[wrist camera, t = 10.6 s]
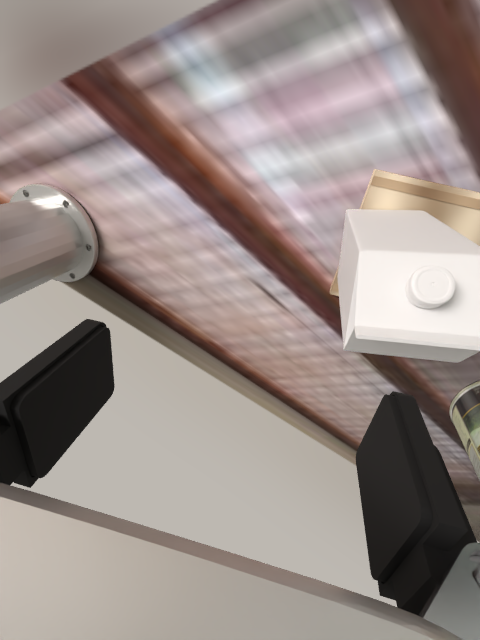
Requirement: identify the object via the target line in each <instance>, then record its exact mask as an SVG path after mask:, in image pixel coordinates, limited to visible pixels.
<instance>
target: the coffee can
mask: <svg viewBox="0 0 480 640" xmlns="http://www.w3.org/2000/svg"><path fill="white" fill-rule="evenodd" d="M450 417H451V420H452V422H453V424H454V425H455V427H456V430H457V432H458V434H459V436H460V438H461V441H462V443H463V445H464V447H465V450H466V452H467V454H468V456H469V458H470V461H471V463H472V465H473V467H474V469H475V472H476V474H477V476H478V478H479V480H480V381H478V382H475V383H473V384H471V385H469V386H467V387H466V388H464V389H463V390H461V391H460V392H459V393H458V394H457V395H456V396H455V398H454V399H453V401H452V402H451V405H450Z"/></svg>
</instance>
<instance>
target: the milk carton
mask: <svg viewBox="0 0 480 640" xmlns="http://www.w3.org/2000/svg"><path fill="white" fill-rule="evenodd" d="M337 278H338V289H339V301H340V312H341V323H342V335H343V346H344V350H345V351H353V352H362V353H371V354H380V355H390V356H399V357H408V358H417V359H426V360H436V361H445V362H455V363H459V362H461V361H463V360H465V359H466V358H468V357H470V356H472V355H474V354H476V353H478V352H480V246H479V245H477V244H476V243H474V242H472V241H471V240H469V239H468V238H466V237H465V236H463V235H461V234H460V233H458V232H457V231H455V230H454V229H452V228H450V227H449V226H447V225H446V224H444V223H443V222H441V221H439V220H438V219H436V218H435V217H433V216H432V215H430V214H428V213H427V212H425V211H421V210H372V209H347V210H346V215H345V223H344V230H343V238H342V245H341V253H340V261H339V268H338V276H337Z"/></svg>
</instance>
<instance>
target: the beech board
mask: <svg viewBox="0 0 480 640" xmlns="http://www.w3.org/2000/svg"><path fill="white" fill-rule="evenodd" d="M360 209H372V210H421V211H425V212H427V213H428V214H430V215H432V216H433V217H435V218H436V219H438V220H439V221H441V222H443V223H444V224H446V225H447V226H449V227H450V228H452V229H454V230H455V231H457V232H458V233H460V234H461V235H463V236H465V237H466V238H468V239H469V240H471V241H472V242H474V243H476V244H477V245H479V246H480V193H479V192H475V191H470V190H466V189H461V188H457V187H452V186H448V185H443V184H439V183H434V182H430V181H425V180H421V179H416V178H412V177H408V176H403V175H399V174H394V173H390V172H385V171H381V170H376V169H374V171H373V174H372V177H371V180H370V182H369V185H368V188H367V190H366V193H365V196H364V198H363V201H362V204H361V207H360ZM338 268H339V266H338ZM337 276H338V269H337V272H336V274H335V277H334V280H333V282H332V285H331V288H330V294H332V295H336V296H339V289H338V278H337Z"/></svg>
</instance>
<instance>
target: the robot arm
mask: <svg viewBox="0 0 480 640" xmlns="http://www.w3.org/2000/svg"><path fill="white" fill-rule="evenodd" d="M97 258H98V240H97V235H96V232H95V229H94V226H93V224H92V222H91V220H90V218H89V216H88V215H87V213H86V212H85V210H84V209H83V208H82V207H81V205H80V204H79V203H78V202H77V201H76V200H75V199H74V198H73V197H71V196H70V195H69V194H68V193H66V192H64V191H63V190H61V189H59V188H57V187H54V186H52V185H47V184H31V185H27V186H24V187H22V188H20V189H19V190H18V191H17V192H16V193H15V194H14V195H13V197H12V198H11V200H10V203H5V204H0V304H1V303H3V302H5V301H7V300H10V299H11V298H14V297H16V296H18V295H20V294H22V293H24V292H26V291H28V290H30V289H32V288H35V287H37V286H39V285H41V284H43V283H45V282H47V281H49V280H51V279H54V280H56V281H61V282H73V281H77V280H79V279H81V278H83V277H85V276H86V275H88V274H89V273H90V272H91V271H92V270H93V268H94V266H95V264H96V262H97ZM113 391H114V376H113V363H112V351H111V338H110V330H109V328H106V325H105V324H104V323H103V322H98V321H94V320H90V319H86V320H85V321H83V322H82V323H81V324H79V325H78V326H76V327H75V328H73V329H72V330H71V331H70V332H68V333H67V334H66V335H64V336H63V337H61V338H60V339H59V340H57V341H56V342H55V343H53V344H52V345H51V346H49V347H48V348H47V349H45V350H44V351H43V352H41V353H40V354H38V355H37V356H36V357H35V358H33V359H32V360H30V361H29V362H28V363H26V364H25V365H24V366H22V367H21V368H20V369H18V370H17V371H16V372H15V373H13V374H12V375H10V376H9V377H7V378H6V379H5V380H4V381H2V382H1V383H0V640H480V543H477V541H476V538H475V536H474V534H473V531H472V529H471V526H470V524H469V522H468V519H467V517H466V514H465V512H464V510H463V507H462V505H461V502H460V500H459V497H458V495H457V493H456V490H455V488H454V485H453V483H452V481H451V478H450V476H449V473H448V471H447V468H446V466H445V464H444V461H443V459H442V456H441V454H440V452H439V450H438V449H437V447H435V446H434V445H433V442H432V440H431V437H430V435H429V432H428V430H427V427H426V425H425V423H424V420H423V418H422V415H421V413H420V410H419V408H418V405H417V403H416V400H415V398H414V397H413V396H411V395H407V394H403V393H398V392H392V393H391V394H390V395H387V394H386V395H384V397H383V398H382V401H381V403H380V405H379V407H378V409H377V411H376V413H375V415H374V417H373V419H372V421H371V423H370V425H369V427H368V429H367V431H366V433H365V435H364V437H363V440H362V442H361V444H360V446H359V448H358V450H357V453H356V465H357V473H358V480H359V488H360V495H361V503H362V510H363V518H364V525H365V533H366V540H367V548H368V555H369V562H370V570H371V575H372V577H373V579H375V580H378V585H379V592H380V596H383V597H387V598H390V599H393V600H396V602H397V607H395V606H392V605H389V604H387V603H384V602H381V601H378V600H376V599H373V598H370V597H367V596H363V595H361V594H358V593H355V592H352V591H349V590H346V589H343V588H340V587H337V586H334V585H331V584H327V583H325V582H322V581H319V580H316V579H313V578H309V577H306V576H303V575H300V574H297V573H293V572H290V571H287V570H284V569H281V568H278V567H274V566H271V565H268V564H265V563H262V562H259V561H256V560H252V559H249V558H246V557H243V556H240V555H237V554H233V553H230V552H227V551H224V550H221V549H217V548H214V547H210V546H208V545H204V544H201V543H198V542H195V541H192V540H188V539H185V538H182V537H179V536H175V535H172V534H169V533H165V532H163V531H159V530H156V529H153V528H149V527H146V526H143V525H140V524H137V523H133V522H130V521H127V520H124V519H120V518H117V517H114V516H111V515H107V514H104V513H101V512H97V511H94V510H91V509H88V508H84V507H81V506H78V505H74V504H71V503H68V502H64V501H61V500H58V499H55V498H51V497H48V496H45V495H41V494H38V493H34V492H31V491H28V490H24V489H21V488H17V487H14V486H10V485H11V484H12V482H13V481H14V483H17V484H20V485H23V486H27V487H30V488H31V486H32V485H33V484H34V483H35V481H37V479H38V478H42V477H44V476H45V475H46V474H47V473H48V472H49V471H50V470H51V469H52V467H53V466H54V465H55V464H56V462H57V461H58V460H59V459H60V457H61V456H62V455H63V454H64V453H65V452H66V450H67V449H68V448H69V447H70V445H71V444H72V443H73V442H74V441H75V439H76V438H77V437H78V436H79V435H80V433H81V432H82V431H83V430H84V428H85V427H86V426H87V425H88V424H89V422H90V421H91V420H92V419H93V418H94V416H95V415H96V414H97V413H98V412H99V410H100V409H101V408H102V407H103V405H104V404H105V403H106V402H107V401H108V399H109V398H110V397H111V395H112V394H113Z"/></svg>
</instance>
